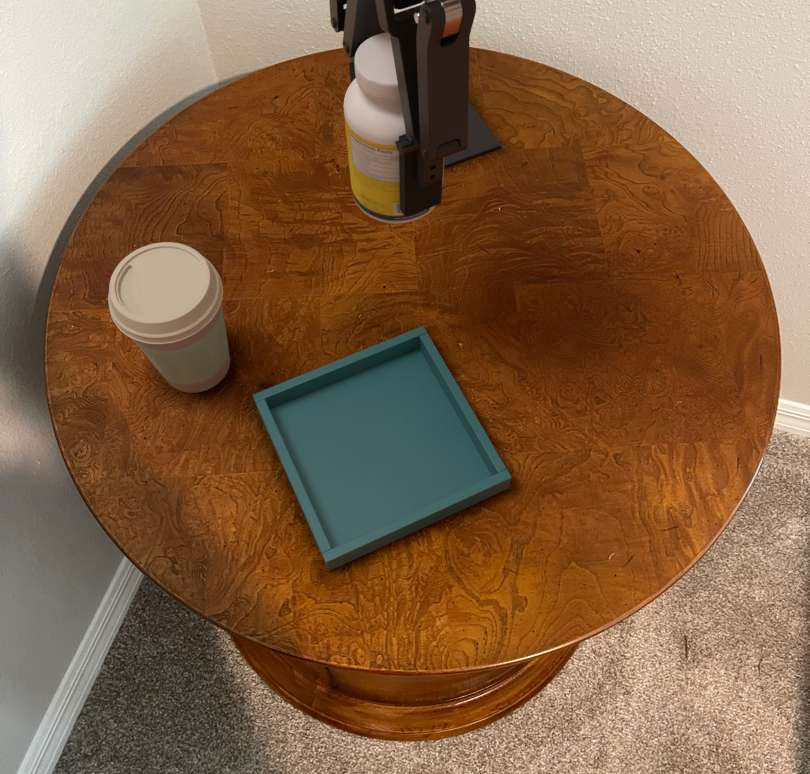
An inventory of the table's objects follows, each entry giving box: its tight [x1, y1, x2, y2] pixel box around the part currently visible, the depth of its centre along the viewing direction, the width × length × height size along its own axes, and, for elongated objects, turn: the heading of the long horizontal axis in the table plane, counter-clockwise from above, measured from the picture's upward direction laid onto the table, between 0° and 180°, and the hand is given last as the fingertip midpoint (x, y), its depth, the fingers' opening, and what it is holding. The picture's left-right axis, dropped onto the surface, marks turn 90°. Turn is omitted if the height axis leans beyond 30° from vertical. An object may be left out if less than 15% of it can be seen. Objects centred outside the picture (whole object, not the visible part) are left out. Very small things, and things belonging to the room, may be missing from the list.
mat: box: [444, 100, 501, 169], centre depth 85 cm, size 10×10×1 cm
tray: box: [252, 325, 512, 572], centre depth 66 cm, size 16×16×2 cm
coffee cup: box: [107, 241, 231, 394], centre depth 66 cm, size 8×8×12 cm
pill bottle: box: [343, 32, 445, 225], centre depth 54 cm, size 6×6×12 cm
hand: (396, 170), depth 57 cm, fingers closed on pill bottle, 6 cm apart
